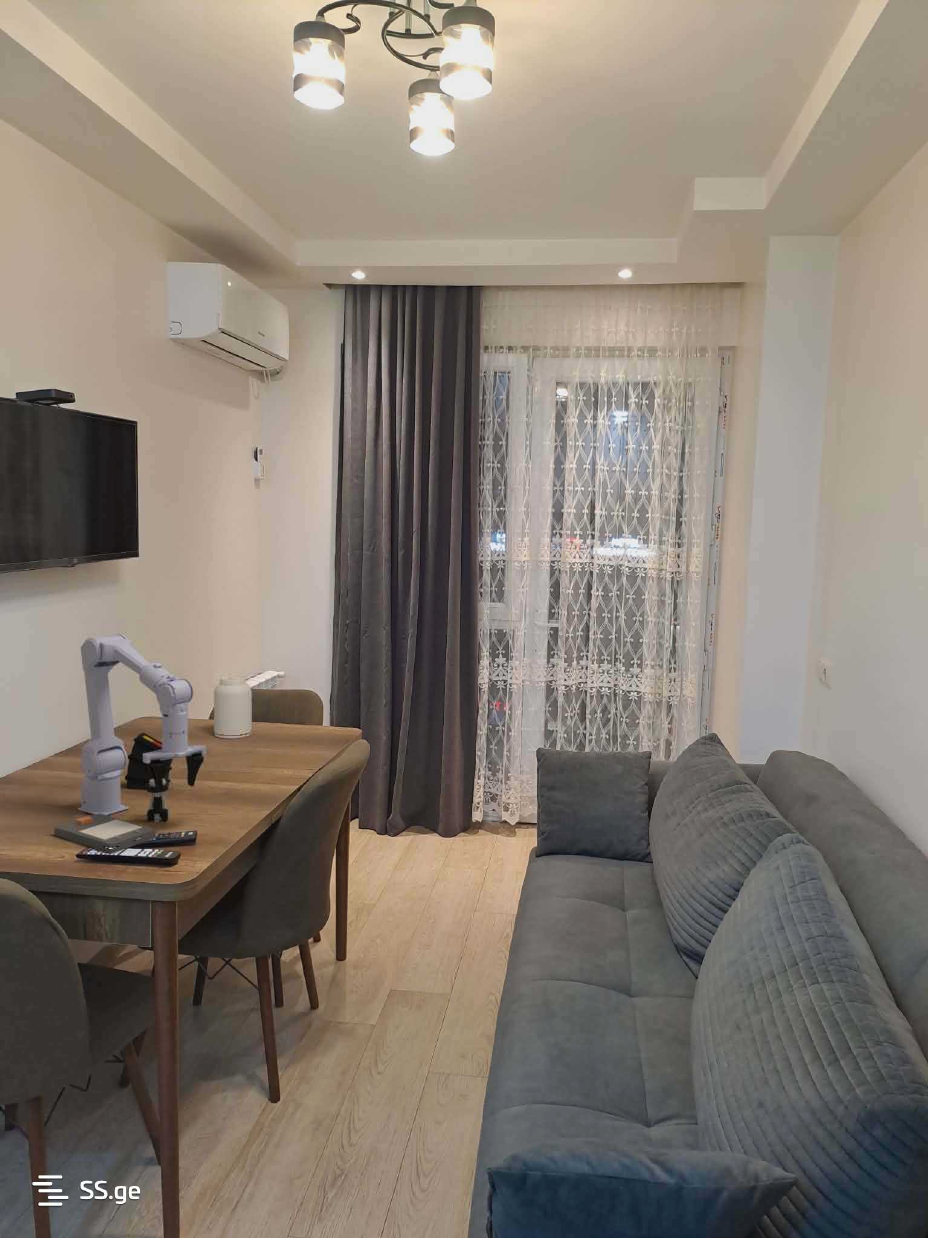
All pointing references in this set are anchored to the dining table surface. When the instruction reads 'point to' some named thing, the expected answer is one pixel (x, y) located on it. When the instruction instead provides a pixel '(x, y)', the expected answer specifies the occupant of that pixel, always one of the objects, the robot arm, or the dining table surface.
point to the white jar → (232, 707)
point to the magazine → (137, 768)
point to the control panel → (105, 832)
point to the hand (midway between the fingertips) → (175, 788)
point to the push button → (157, 803)
